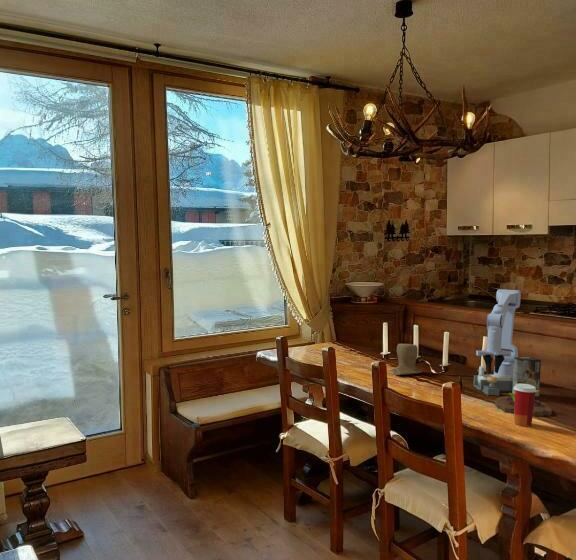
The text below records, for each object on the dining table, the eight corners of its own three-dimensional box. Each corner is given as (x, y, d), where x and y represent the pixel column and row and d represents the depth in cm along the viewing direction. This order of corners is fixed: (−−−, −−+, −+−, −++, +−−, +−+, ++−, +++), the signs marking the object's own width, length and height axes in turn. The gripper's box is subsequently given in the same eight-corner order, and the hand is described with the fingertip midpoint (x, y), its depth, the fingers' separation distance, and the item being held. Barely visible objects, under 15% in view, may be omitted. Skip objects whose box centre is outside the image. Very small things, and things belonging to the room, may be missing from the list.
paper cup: (528, 421, 206) (530, 383, 205) (538, 428, 198) (541, 388, 197) (507, 420, 206) (509, 382, 205) (516, 427, 198) (519, 388, 197)
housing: (473, 386, 255) (473, 375, 255) (507, 387, 256) (508, 376, 256) (486, 395, 240) (487, 383, 240) (523, 396, 241) (524, 384, 240)
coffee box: (529, 392, 247) (531, 356, 246) (539, 396, 241) (541, 359, 240) (511, 393, 245) (513, 357, 244) (521, 397, 239) (523, 360, 238)
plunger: (485, 387, 244) (485, 376, 244) (494, 387, 244) (494, 376, 244) (488, 389, 240) (489, 378, 240) (498, 389, 240) (498, 379, 240)
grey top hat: (409, 370, 284) (411, 340, 283) (425, 375, 274) (426, 344, 273) (384, 372, 278) (386, 342, 277) (399, 377, 267) (401, 346, 266)
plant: (489, 400, 233) (491, 374, 232) (538, 403, 231) (540, 377, 230) (502, 415, 213) (504, 386, 213) (556, 418, 211) (558, 389, 210)
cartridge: (477, 384, 253) (478, 365, 253) (505, 385, 254) (506, 366, 253) (481, 387, 248) (482, 368, 248) (510, 388, 249) (511, 368, 248)
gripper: (481, 342, 237) (479, 374, 238) (515, 343, 237) (513, 375, 238) (475, 339, 244) (473, 370, 245) (507, 340, 244) (506, 371, 245)
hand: (492, 372), depth 242 cm, fingers open, 3 cm apart
